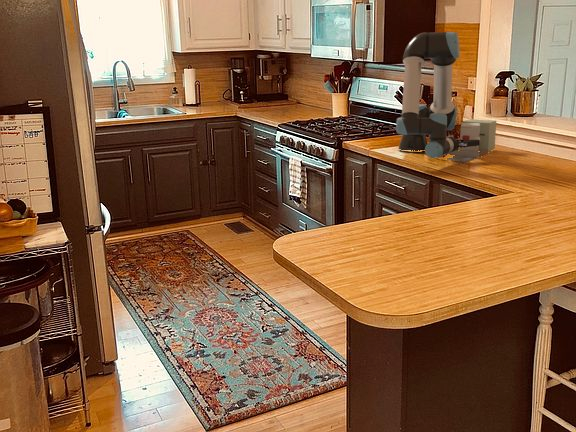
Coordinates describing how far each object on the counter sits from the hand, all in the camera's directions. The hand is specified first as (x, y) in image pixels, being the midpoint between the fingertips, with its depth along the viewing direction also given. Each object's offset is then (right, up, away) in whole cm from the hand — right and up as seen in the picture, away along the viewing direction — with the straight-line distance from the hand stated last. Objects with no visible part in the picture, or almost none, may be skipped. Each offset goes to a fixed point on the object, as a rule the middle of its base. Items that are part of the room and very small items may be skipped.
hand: (465, 138), depth 305 cm
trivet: (-5, -10, -4) cm, 12 cm away
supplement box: (+3, -7, +7) cm, 10 cm away
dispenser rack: (+6, -6, +10) cm, 13 cm away
